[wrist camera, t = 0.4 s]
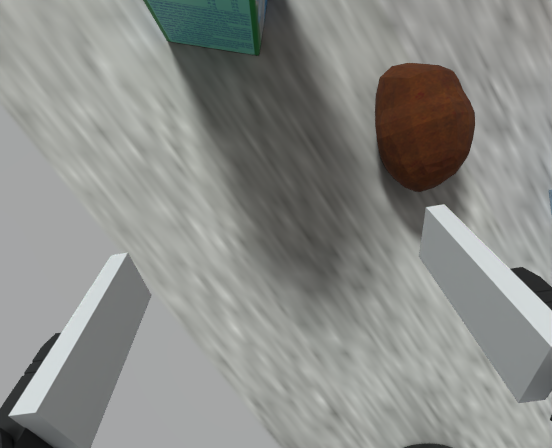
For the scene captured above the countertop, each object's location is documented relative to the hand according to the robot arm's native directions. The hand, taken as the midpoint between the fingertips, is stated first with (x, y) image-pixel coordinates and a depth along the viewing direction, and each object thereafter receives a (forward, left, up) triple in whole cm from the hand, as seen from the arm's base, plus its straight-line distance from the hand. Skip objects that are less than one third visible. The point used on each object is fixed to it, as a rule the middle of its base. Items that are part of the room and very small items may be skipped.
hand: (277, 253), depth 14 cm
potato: (+8, -14, -16) cm, 23 cm away
